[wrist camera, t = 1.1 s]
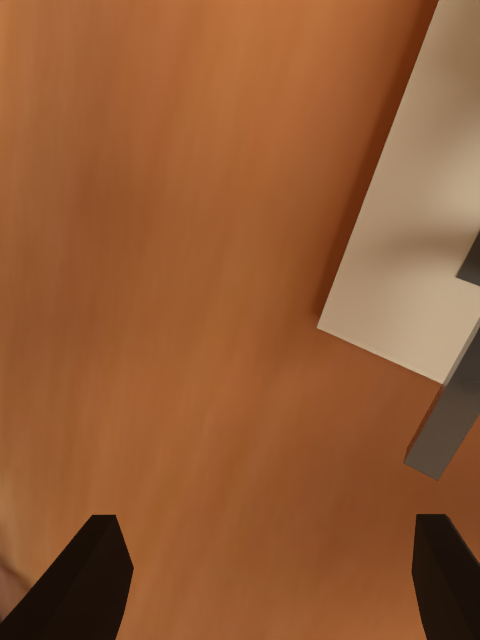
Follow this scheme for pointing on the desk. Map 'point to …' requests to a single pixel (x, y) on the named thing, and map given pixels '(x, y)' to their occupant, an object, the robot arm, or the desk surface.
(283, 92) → the desk surface
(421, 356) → the base plate
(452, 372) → the t key
